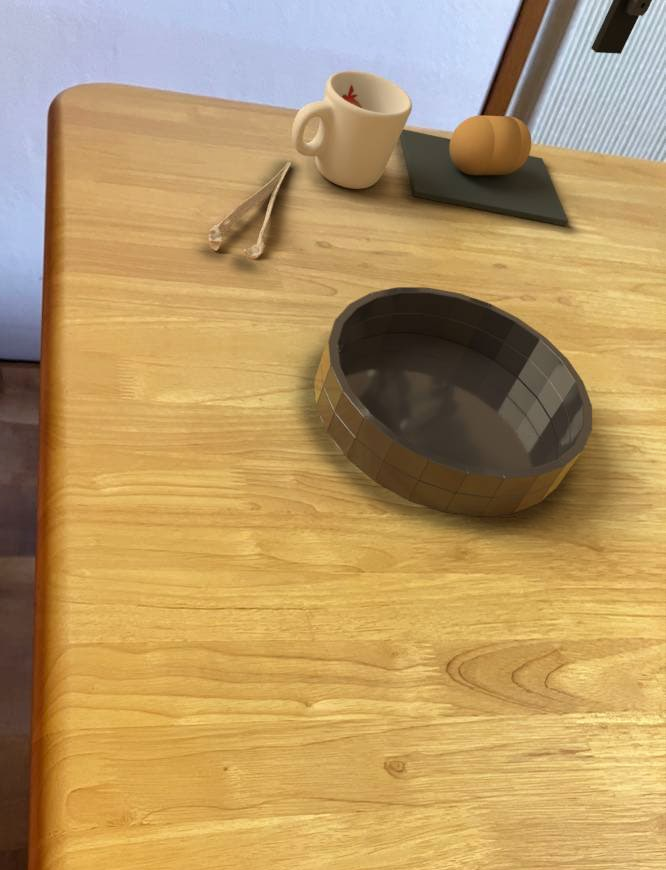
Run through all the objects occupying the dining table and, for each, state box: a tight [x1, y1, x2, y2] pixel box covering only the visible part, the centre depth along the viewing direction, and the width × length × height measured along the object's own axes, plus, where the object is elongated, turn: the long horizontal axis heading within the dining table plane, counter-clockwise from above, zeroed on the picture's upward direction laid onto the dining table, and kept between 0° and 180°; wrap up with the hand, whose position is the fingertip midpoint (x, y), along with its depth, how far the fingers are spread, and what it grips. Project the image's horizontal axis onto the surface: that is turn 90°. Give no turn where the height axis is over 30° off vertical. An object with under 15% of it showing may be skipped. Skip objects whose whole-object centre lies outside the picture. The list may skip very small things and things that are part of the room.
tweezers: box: [208, 161, 292, 260], centre depth 78 cm, size 17×5×2 cm, turn 162°
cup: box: [291, 70, 413, 190], centre depth 81 cm, size 11×8×8 cm
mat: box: [399, 128, 569, 227], centre depth 90 cm, size 16×12×1 cm
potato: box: [449, 115, 533, 175], centre depth 88 cm, size 9×5×5 cm, turn 111°
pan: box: [313, 286, 593, 517], centre depth 64 cm, size 19×19×4 cm
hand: (562, 14), depth 78 cm, fingers open, 13 cm apart
